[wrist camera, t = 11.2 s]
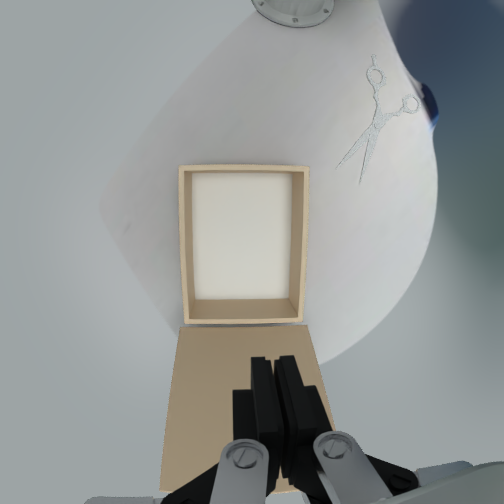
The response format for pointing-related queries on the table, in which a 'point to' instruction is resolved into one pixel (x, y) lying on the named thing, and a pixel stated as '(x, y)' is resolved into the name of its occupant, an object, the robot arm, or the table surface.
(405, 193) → the table surface
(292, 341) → the lid
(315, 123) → the table surface
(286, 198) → the box
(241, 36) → the table surface
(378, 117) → the scissors
